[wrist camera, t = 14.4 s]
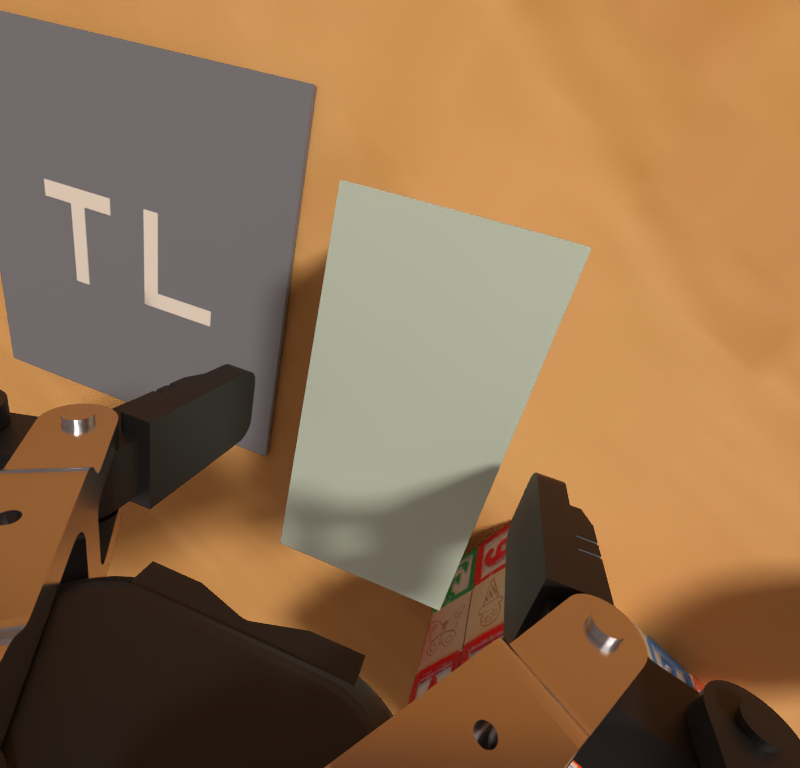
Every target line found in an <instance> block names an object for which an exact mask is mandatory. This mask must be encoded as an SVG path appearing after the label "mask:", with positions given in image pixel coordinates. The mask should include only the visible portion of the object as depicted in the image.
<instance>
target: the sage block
mask: <svg viewBox="0 0 800 768" xmlns="http://www.w3.org/2000/svg"><path fill="white" fill-rule="evenodd" d="M590 251H591V247H588V246H585V245H582V244H578V243H575V242H572V241H569V240H565V239H562V238H559V237H555V236H551V235H548V234H544V233H540V232H536V231H533V230H529V229H525V228H522V227H518V226H514V225H511V224H507V223H503V222H499V221H496V220H492V219H488V218H485V217H481V216H477V215H474V214H470V213H466V212H462V211H459V210H455V209H451V208H448V207H444V206H440V205H436V204H433V203H429V202H425V201H422V200H418V199H414V198H410V197H406V196H402V195H398V194H395V193H391V192H387V191H383V190H379V189H375V188H371V187H367V186H363V185H359V184H355V183H352V182H348V181H344V180H340V183H339V189H338V195H337V201H336V207H335V213H334V219H333V225H332V232H331V238H330V244H329V250H328V256H327V262H326V268H325V274H324V280H323V286H322V292H321V298H320V304H319V310H318V316H317V323H316V329H315V335H314V341H313V347H312V353H311V359H310V365H309V371H308V377H307V383H306V389H305V395H304V401H303V407H302V414H301V420H300V426H299V432H298V438H297V444H296V450H295V456H294V462H293V468H292V474H291V480H290V486H289V492H288V498H287V505H286V511H285V517H284V523H283V529H282V535H281V541H280V543H281V544H283V545H286V546H288V547H290V548H293V549H295V550H297V551H300V552H302V553H305V554H307V555H309V556H312V557H314V558H316V559H319V560H321V561H323V562H326V563H328V564H330V565H333V566H335V567H338V568H340V569H342V570H345V571H347V572H349V573H352V574H354V575H356V576H359V577H361V578H363V579H366V580H368V581H371V582H373V583H375V584H378V585H380V586H382V587H385V588H387V589H389V590H392V591H394V592H396V593H399V594H401V595H404V596H406V597H408V598H411V599H413V600H415V601H418V602H420V603H422V604H425V605H427V606H429V607H432V608H434V609H437V610H439V611H440V608H441V606H442V604H443V601H444V599H445V596H446V594H447V592H448V589H449V587H450V585H451V582H452V580H453V577H454V575H455V573H456V570H457V568H458V565H459V563H460V561H461V558H462V556H463V554H464V551H465V549H466V546H467V544H468V542H469V539H470V537H471V534H472V532H473V530H474V527H475V525H476V523H477V520H478V518H479V515H480V513H481V511H482V508H483V506H484V503H485V501H486V499H487V496H488V494H489V492H490V489H491V487H492V484H493V482H494V480H495V477H496V475H497V472H498V470H499V468H500V465H501V463H502V461H503V458H504V456H505V453H506V451H507V449H508V446H509V444H510V442H511V439H512V437H513V434H514V432H515V430H516V427H517V425H518V422H519V420H520V418H521V415H522V413H523V411H524V408H525V406H526V403H527V401H528V399H529V396H530V394H531V391H532V389H533V387H534V384H535V382H536V380H537V377H538V375H539V372H540V370H541V368H542V365H543V363H544V360H545V358H546V356H547V353H548V351H549V349H550V346H551V344H552V341H553V339H554V337H555V334H556V332H557V330H558V327H559V325H560V322H561V320H562V318H563V315H564V313H565V310H566V308H567V306H568V303H569V301H570V299H571V296H572V294H573V291H574V289H575V287H576V284H577V282H578V279H579V277H580V275H581V272H582V270H583V268H584V265H585V263H586V260H587V258H588V256H589V253H590Z"/></svg>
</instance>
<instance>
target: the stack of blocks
mask: <svg viewBox="0 0 800 768" xmlns="http://www.w3.org/2000/svg"><path fill="white" fill-rule="evenodd" d="M509 527H510V524H509V525H508V526H506V527H505V528H503V529H502V530H500V531H499V532H497V533H496V534H495V535H493V536H492V537H490V538H489V539H487V540H486V541H485V542H483V543H482V544H480V545H479V547H477V548H476V549H475V550H473V551H472V552H470V553H469V554H467V555H466V556H464V557H463V558H461V561H460V563H459V565H458V568H457V570H456V573H455V575H454V577H453V580H452V582H451V585H450V587H449V589H448V592H447V594H446V596H445V599H444V601H443V604H442V606H441V608H440V611H439V610H437V609H434V608H432V612H431V615H432V617H431V620H430V623H429V627H428V631H427V634H426V638H425V642H424V646H423V650H422V654H421V658H420V663H419V667H418V673H417V675H416V677H415V679H414V683H413V687H412V690H411V694H410V697H409V703H408V705H409V704H410V703H411V702H413V701H414V700H415V699H417V698H418V697H419V696H421V695H422V694H423V693H425V692H426V691H427V690H429V689H430V688H431V687H433V686H434V685H435V684H437V683H438V682H439V681H441V680H442V679H443V678H445V677H446V676H447V675H449V674H450V673H451V672H453V671H454V670H455V669H457V668H458V667H459V666H461V665H462V664H463V663H465V662H466V661H468V660H469V659H470V658H472V657H473V656H474V655H476V654H477V653H478V652H480V651H481V650H482V649H484V648H485V647H486V646H488V645H489V644H490V643H492V642H493V641H495V640H497V639H499V638H503V629H504V597H505V565H506V540H507V534H508V530H509ZM614 607H615V606H614ZM630 621H631V620H630ZM631 622H632V621H631ZM632 623H633V622H632ZM633 624H634V623H633ZM634 626H635V627H636V628H637V630H638V631H639V633H640V634H641V636H642V638H643V640H644V642H645V645H646V648H647V655H648V657H649V658H650V659H651V660H652V661H653V662H655V663H656V664H658V665H659V666H660V667H662V668H663V669H665V670H666V671H668V672H669V673H671V674H672V675H674V676H675V677H677V678H678V679H680V680H681V681H683V682H684V683H686V684H687V685H689V686H690V687H692V688H693V689H695V690H696V691H698V692H699V693H700V691H701V690H702V689H703V688H704V687H705V686H704V685H703V684H702V683H701V682H699V681H698V680H697V679H696V678H695V677H694V676H693V675H692V674H691V673H688V672H686V671H685V670H684V669H683V668H682V667H681V666H680V665H679V664H678V663H677V662H676V661H675V660H673V659H672V658H671V657H670V656H669V655H668V654H667V653H666V652H665V651H664V650H663V649H662V648H660V647H659V646H658V645H657V644H656V643H655V642H654V641H653V640H652V639H651V638H650V637H649V636H647V635H645V634H644V633H643V632H642V631H641V630H640V629H639V628H638V627H637V626H636V625H635V624H634ZM568 768H582V767H581V766H580V765H578V764H577V763H576V762H575V761H574V760H573V762H572V763H571V764H570V765H569V767H568Z"/></svg>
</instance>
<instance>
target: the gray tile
mask: <svg viewBox="0 0 800 768" xmlns="http://www.w3.org/2000/svg"><path fill="white" fill-rule="evenodd" d="M316 89H317V87H316V86H315V85H313V84H309V83H305V82H301V81H297V80H292V79H288V78H284V77H280V76H275V75H271V74H267V73H263V72H258V71H254V70H250V69H246V68H241V67H237V66H233V65H229V64H224V63H220V62H216V61H212V60H208V59H203V58H199V57H195V56H191V55H186V54H182V53H178V52H174V51H169V50H165V49H161V48H157V47H152V46H148V45H144V44H140V43H135V42H131V41H127V40H123V39H118V38H114V37H110V36H106V35H101V34H97V33H93V32H89V31H85V30H80V29H76V28H72V27H68V26H63V25H59V24H55V23H51V22H46V21H42V20H38V19H34V18H29V17H25V16H21V15H17V14H12V13H8V12H4V11H0V272H1V278H2V285H3V291H4V297H5V304H6V310H7V317H8V323H9V329H10V336H11V342H12V349H13V355H14V358H16V359H19V360H21V361H24V362H26V363H29V364H31V365H34V366H36V367H39V368H42V369H44V370H47V371H49V372H52V373H54V374H57V375H59V376H62V377H64V378H67V379H70V380H72V381H75V382H77V383H80V384H82V385H85V386H87V387H90V388H92V389H95V390H98V391H100V392H103V393H105V394H108V395H110V396H113V397H115V398H118V399H120V400H123V401H126V402H129V401H131V400H134V399H136V398H138V397H140V396H143V395H145V394H147V393H150V392H152V391H155V392H156V390H157V389H159V388H161V387H163V386H166V385H167V386H169V384H170V383H172V382H175V381H177V380H179V379H182V378H184V377H188V376H194V375H199V374H205V373H207V372H209V371H211V370H214V369H216V368H218V367H220V366H223V365H225V364H230V365H233V366H236V367H239V368H242V369H244V370H247V371H250V372H252V373H253V374H254V375H255V390H254V399H253V408H252V417H251V423H250V427H249V429H248V431H247V433H246V435H245V436H244V438H243V439H242V440H241V441H240V442H238V443H237V444H236V445H238V446H240V447H243V448H245V449H248V450H250V451H253V452H255V453H258V454H260V455H263V456H266V455H267V454H268V449H269V442H270V434H271V427H272V419H273V412H274V404H275V397H276V389H277V382H278V374H279V367H280V359H281V352H282V344H283V337H284V329H285V322H286V314H287V307H288V299H289V292H290V284H291V276H292V269H293V261H294V254H295V246H296V239H297V231H298V224H299V216H300V209H301V201H302V194H303V186H304V179H305V171H306V164H307V156H308V149H309V141H310V134H311V126H312V119H313V111H314V104H315V96H316Z"/></svg>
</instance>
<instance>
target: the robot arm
mask: <svg viewBox="0 0 800 768" xmlns="http://www.w3.org/2000/svg"><path fill="white" fill-rule="evenodd" d="M254 390H255V375H254V374H253V373H252V372H250V371H247V370H244V369H242V368H239V367H236V366H233V365H230V364H225V365H223V366H220V367H218V368H216V369H214V370H211V371H209V372H207V373H205V374H199V375H194V376H188V377H184V378H182V379H179V380H177V381H175V382H172V383H170V384H169V386H167V385H166V386H163V387H161V388H159V389H157V390H156V392H155V391H152V392H150V393H147V394H145V395H143V396H140V397H138V398H136V399H134V400H131V401H129V402H127V403H124V404H122V405H120V406H117V407H115V408H113V409H110V408H108V407H105V406H101V405H96V404H73V405H66V406H62V407H58V408H54V409H52V410H49V411H47V412H45V413H43V414H42V415H41V416H39V417H36V416H29V415H23V414H16V413H10V412H9V406H8V399H7V395H6V393H5V392H3V391H2V390H0V768H568V767H569V765H570V764H571V763H572V762H573V760H574V761H575V762H576V763H577V764H578V765H580V766H581V767H582V768H800V739H799V738H798V736H797V735H796V734H795V733H794V731H793V730H792V729H791V728H790V727H789V725H788V724H787V723H786V722H785V721H784V720H783V719H782V718H781V717H780V716H779V715H778V714H777V713H776V712H775V711H774V710H773V709H772V708H770V707H769V706H768V705H767V704H766V703H764V702H763V701H762V700H760V699H759V698H758V697H756V696H755V695H753V694H752V693H750V692H749V691H747V690H745V689H743V688H741V687H740V686H738V685H735V684H733V683H730V682H726V681H722V680H715V681H711V682H709V683H708V684H707V685H706V686H705V687H704V688H703V689H702V690H701V691H700V693H699V692H698V691H696V690H695V689H693V688H692V687H690V686H689V685H687V684H686V683H684V682H683V681H681V680H680V679H678V678H677V677H675V676H674V675H672V674H671V673H669V672H668V671H666V670H665V669H663V668H662V667H660V666H659V665H658V664H656V663H655V662H653V661H652V660H651V659H650V658H649V657H648V655H647V648H646V645H645V642H644V640H643V638H642V636H641V634H640V633H639V631H638V630H637V628H636V627H635V626H634V624H633V623H632V622H631V621H630V620H629V619H628V618H627V617H626V616H625V615H624V614H623V613H622V612H621V611H620V610H618V609H617V608H616V607H614V603H613V600H612V596H611V592H610V588H609V584H608V581H607V577H606V573H605V569H604V565H603V562H602V559H600V557H601V554H600V550H599V546H598V545H597V539H596V535H595V531H594V527H593V525H592V524H591V522H590V521H589V520H588V518H587V517H586V516H585V514H584V513H583V511H582V510H581V509H579V508H576V507H573V506H571V505H570V504H569V499H568V494H567V489H566V484H565V483H564V482H561V481H559V480H556V479H553V478H550V477H547V476H544V475H541V474H539V473H534V474H533V475H532V477H531V478H530V481H529V483H528V485H527V487H526V489H525V492H524V494H523V496H522V498H521V500H520V503H519V505H518V507H517V509H516V512H515V514H514V516H513V518H512V521H511V523H510V527H509V530H508V534H507V540H506V565H505V597H504V629H503V638H499V639H497V640H495V641H493V642H492V643H490V644H489V645H488V646H486V647H485V648H484V649H482V650H481V651H480V652H478V653H477V654H476V655H474V656H473V657H472V658H470V659H469V660H468V661H466V662H465V663H463V664H462V665H461V666H459V667H458V668H457V669H455V670H454V671H453V672H451V673H450V674H449V675H447V676H446V677H445V678H443V679H442V680H441V681H439V682H438V683H437V684H435V685H434V686H433V687H431V688H430V689H429V690H427V691H426V692H425V693H423V694H422V695H421V696H419V697H418V698H417V699H415V700H414V701H413V702H411V703H410V704H409V705H407V706H406V707H405V708H403V709H402V710H401V711H399V712H398V713H397V714H395V715H394V716H393V715H392V713H391V711H390V710H389V709H388V707H387V706H386V705H385V703H384V702H383V700H382V699H381V698H380V697H379V696H378V695H377V693H376V692H375V691H374V690H373V689H372V688H371V687H370V686H369V685H368V684H367V683H366V682H365V681H363V680H362V679H361V678H360V677H359V673H360V670H361V667H362V664H363V661H364V658H365V655H362V654H360V653H358V652H356V651H353V650H351V649H349V648H347V647H344V646H342V645H340V644H338V643H335V642H333V641H331V640H329V639H326V638H324V637H322V636H320V635H317V634H315V633H313V632H311V631H306V630H300V629H294V628H288V627H282V626H276V625H270V624H264V623H257V622H251V621H247V620H245V619H243V618H242V617H240V616H239V615H238V614H237V613H236V612H235V611H233V610H232V609H231V608H230V607H229V606H228V605H226V604H225V603H224V602H223V601H222V600H221V599H220V598H218V597H217V596H216V595H215V594H214V593H213V592H211V591H210V590H209V589H208V588H207V587H206V586H205V585H203V584H202V583H200V582H198V581H196V580H194V579H191V578H189V577H187V576H185V575H182V574H180V573H178V572H176V571H174V570H171V569H169V568H167V567H165V566H162V565H160V564H158V563H156V562H152V563H151V564H149V565H148V566H147V567H146V568H145V569H144V570H143V571H142V572H141V573H140V574H138V575H137V576H136V577H122V576H109V577H107V573H108V569H109V565H110V561H111V557H112V553H113V549H114V545H115V541H116V537H117V533H118V530H119V526H120V522H121V518H122V506H123V505H125V504H126V503H127V502H129V501H131V502H134V503H136V504H138V505H141V506H143V507H145V508H148V509H151V508H152V507H154V506H155V505H156V504H158V503H159V502H160V501H162V500H163V499H164V498H166V497H167V496H168V495H169V494H171V493H172V492H173V491H175V490H176V489H177V488H179V487H180V486H181V485H183V484H184V483H185V482H187V481H188V480H189V479H191V478H192V477H193V476H195V475H196V474H197V473H199V472H200V471H201V470H203V469H204V468H205V467H207V466H208V465H209V464H210V463H212V462H213V461H214V460H216V459H217V458H218V457H220V456H221V455H222V454H224V453H225V452H226V451H228V450H229V449H230V448H232V447H233V446H234V445H236V444H237V443H238V442H240V441H241V440H242V439H243V438H244V436H245V435H246V433H247V431H248V429H249V427H250V423H251V417H252V408H253V399H254Z"/></svg>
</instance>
